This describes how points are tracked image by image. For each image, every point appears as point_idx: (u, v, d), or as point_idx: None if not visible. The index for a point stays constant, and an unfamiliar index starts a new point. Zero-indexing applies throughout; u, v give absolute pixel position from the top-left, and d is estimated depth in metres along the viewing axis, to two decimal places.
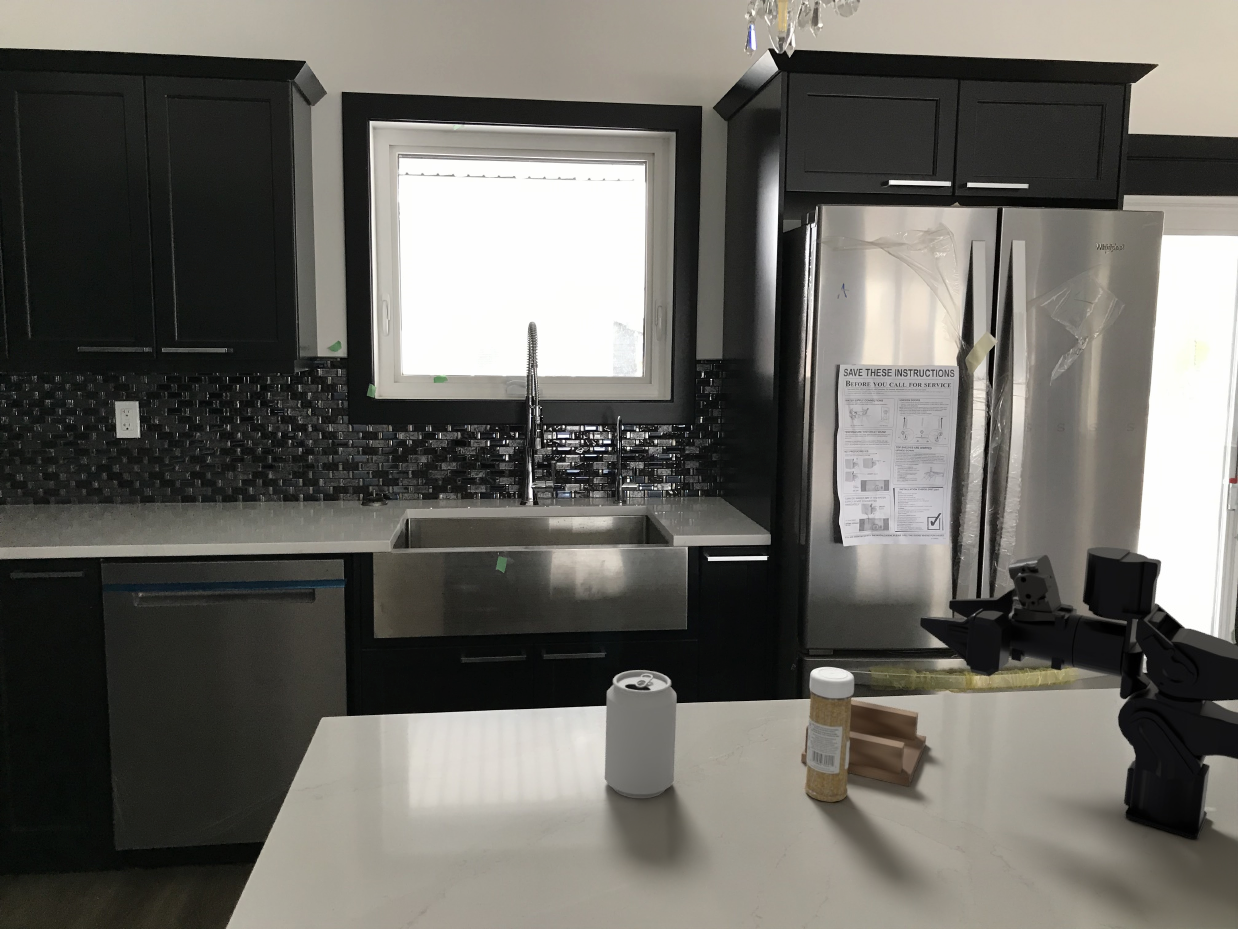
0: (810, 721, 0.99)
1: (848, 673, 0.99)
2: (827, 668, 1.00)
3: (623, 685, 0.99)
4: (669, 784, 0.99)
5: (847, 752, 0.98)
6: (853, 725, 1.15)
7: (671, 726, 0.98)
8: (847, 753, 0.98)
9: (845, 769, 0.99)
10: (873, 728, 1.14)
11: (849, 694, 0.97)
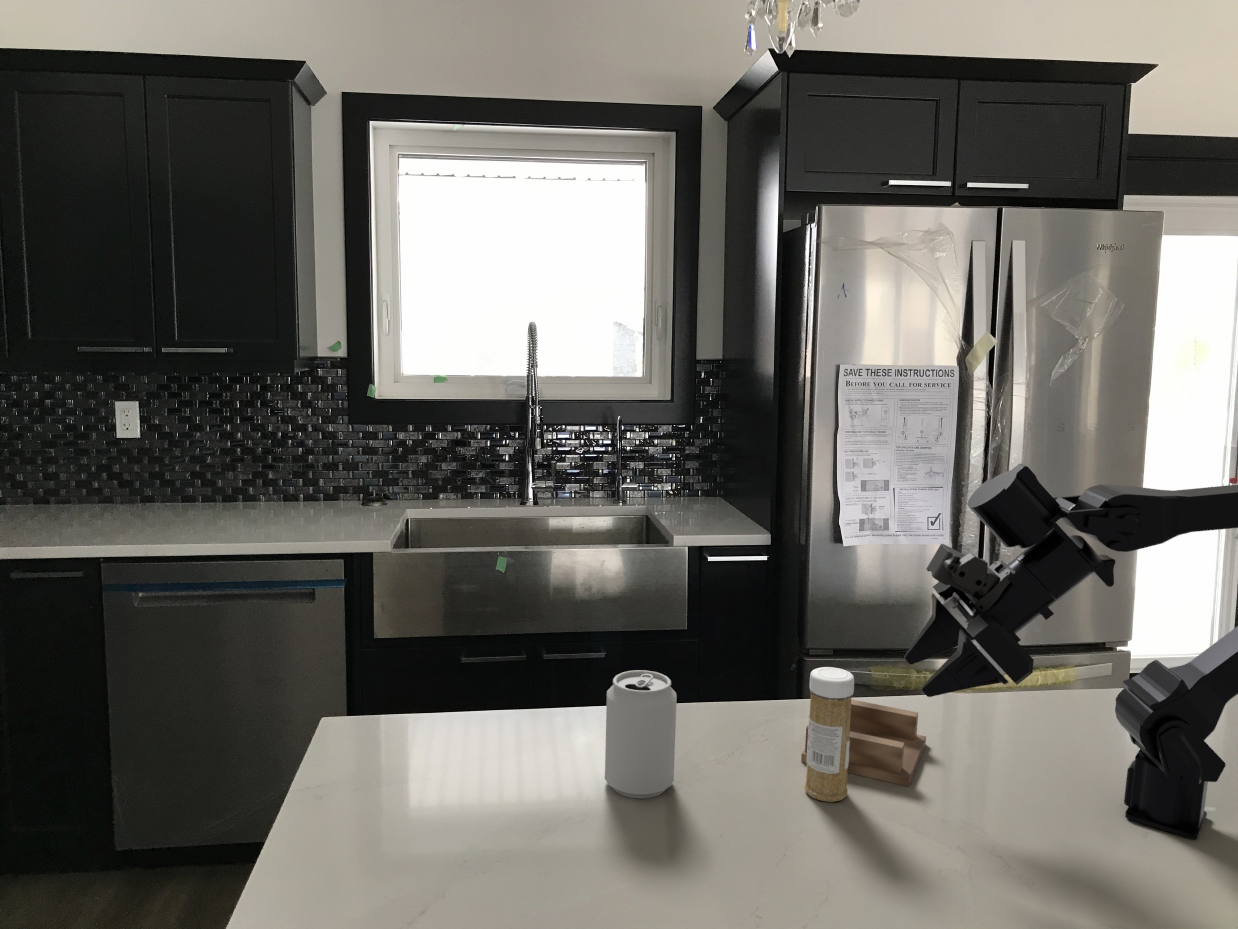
0: (810, 721, 0.99)
1: (848, 673, 0.99)
2: (827, 668, 1.00)
3: (623, 685, 0.99)
4: (669, 784, 0.99)
5: (847, 752, 0.98)
6: (853, 725, 1.15)
7: (671, 726, 0.98)
8: (847, 753, 0.98)
9: (845, 769, 0.99)
10: (873, 728, 1.14)
11: (849, 694, 0.97)
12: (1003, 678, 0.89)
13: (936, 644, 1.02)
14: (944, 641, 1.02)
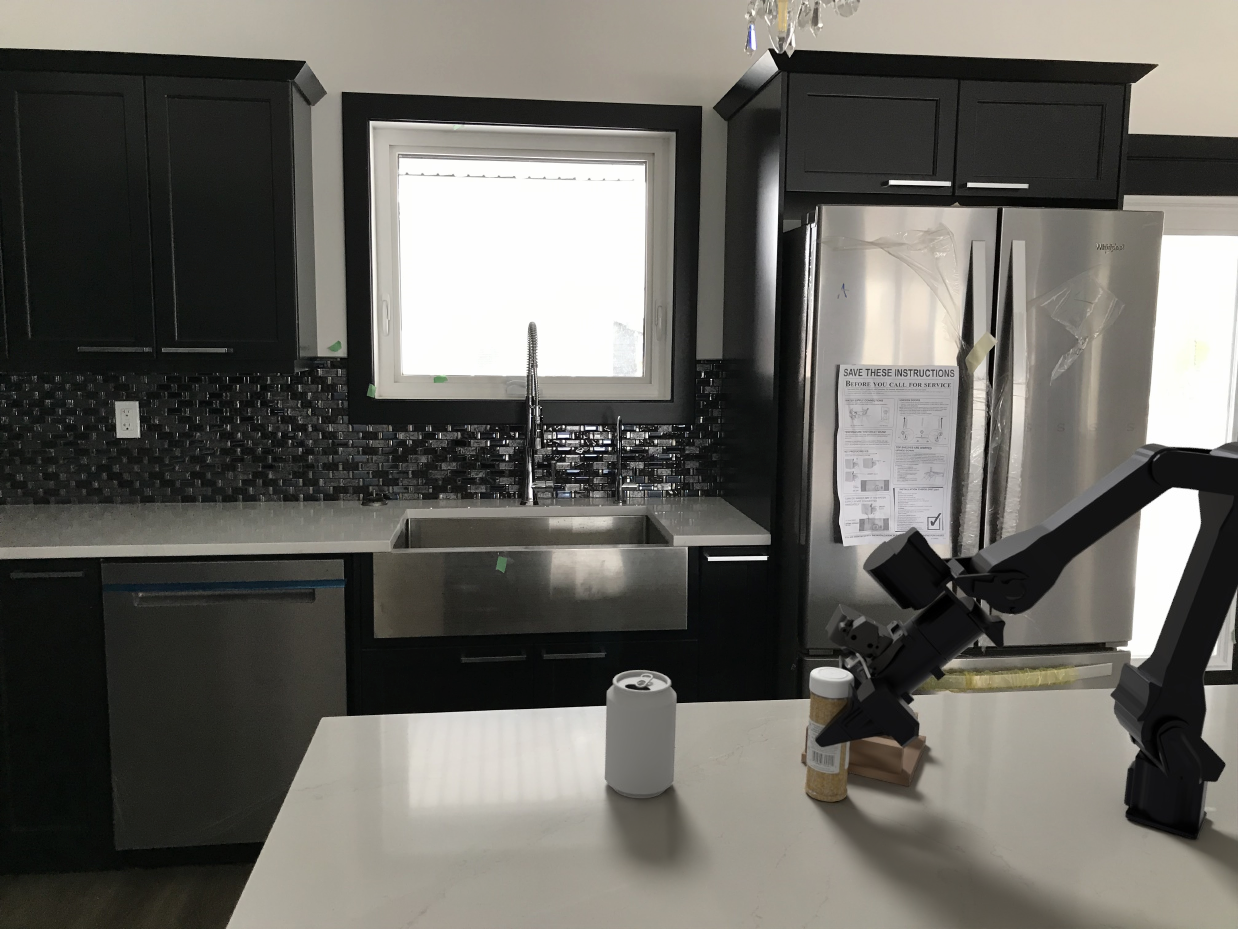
0: (810, 721, 0.99)
1: (848, 673, 0.99)
2: (827, 668, 1.00)
3: (623, 685, 0.99)
4: (669, 784, 0.99)
5: (847, 752, 0.98)
6: None
7: (671, 726, 0.98)
8: (847, 753, 0.98)
9: (845, 769, 0.99)
10: None
11: None
12: (887, 731, 0.93)
13: None
14: None
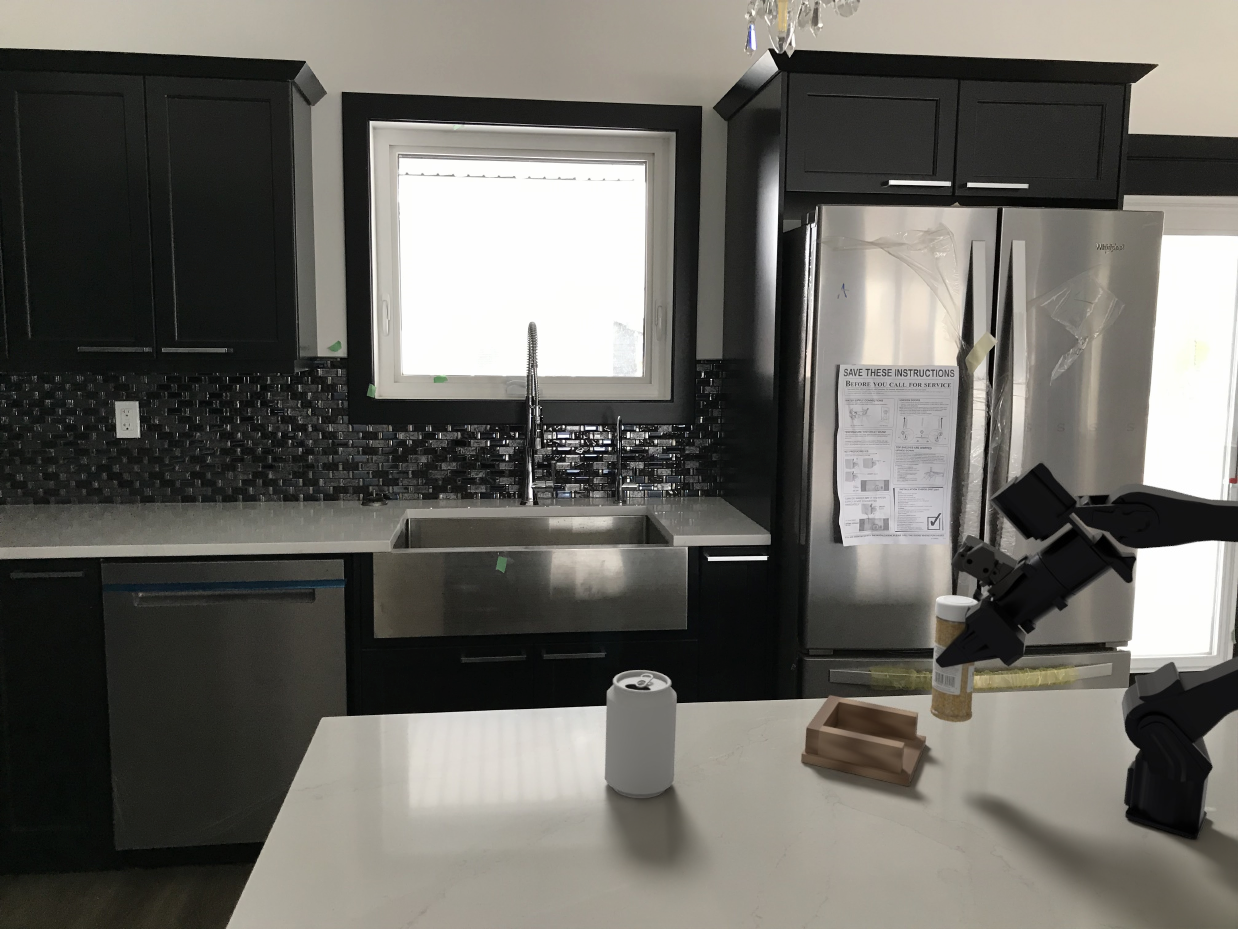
0: (934, 643, 1.04)
1: (974, 601, 1.03)
2: (955, 596, 1.05)
3: (623, 685, 0.99)
4: (669, 784, 0.99)
5: (970, 676, 1.03)
6: (853, 725, 1.15)
7: (671, 726, 0.98)
8: (970, 677, 1.03)
9: (967, 692, 1.03)
10: (873, 728, 1.14)
11: None
12: None
13: None
14: None
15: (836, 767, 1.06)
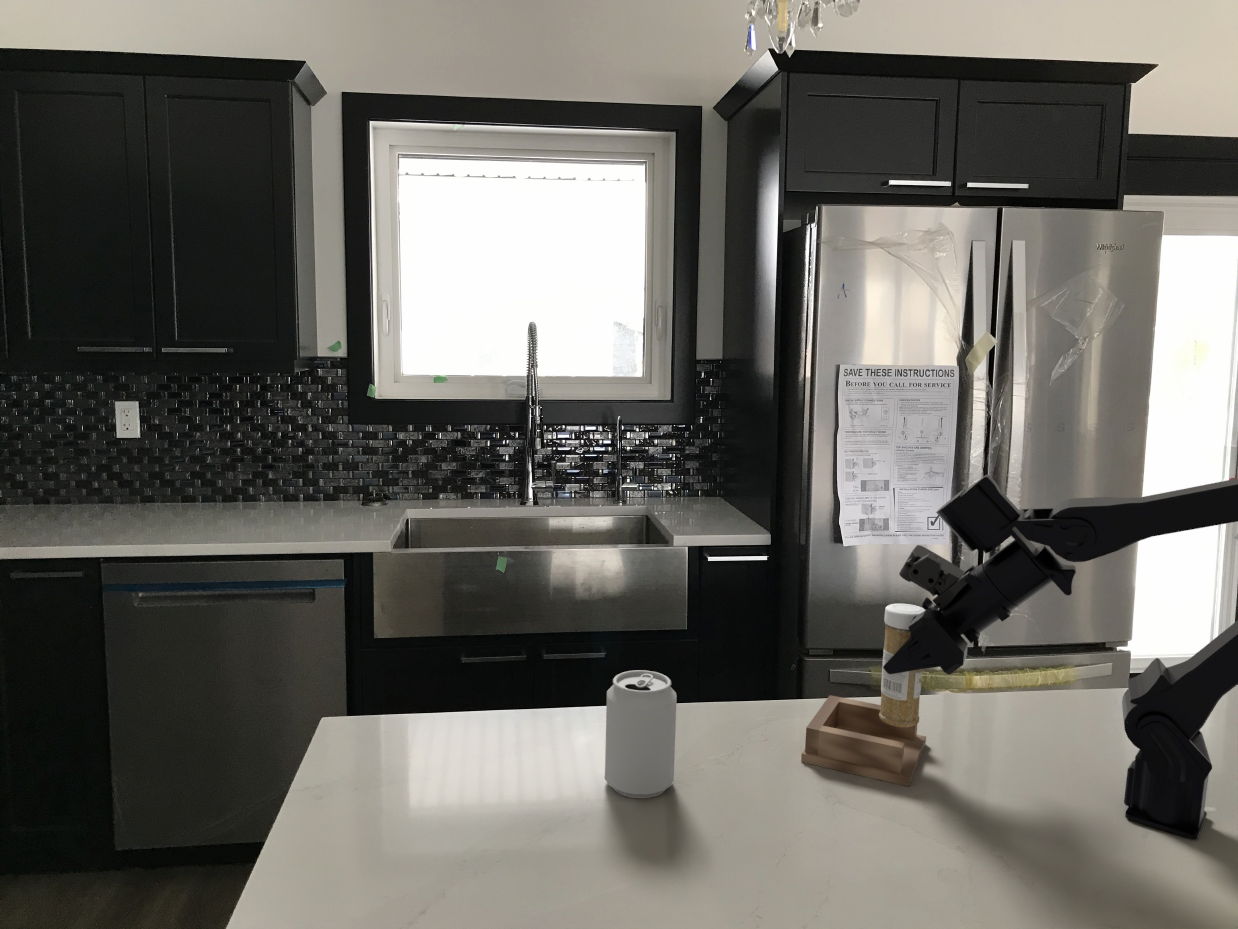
0: (883, 650, 1.07)
1: (922, 609, 1.06)
2: (905, 604, 1.08)
3: (623, 685, 0.99)
4: (669, 784, 0.99)
5: (916, 682, 1.06)
6: (853, 725, 1.15)
7: (671, 726, 0.98)
8: (916, 683, 1.06)
9: (914, 698, 1.06)
10: (873, 728, 1.14)
11: None
12: None
13: None
14: None
15: (836, 767, 1.06)
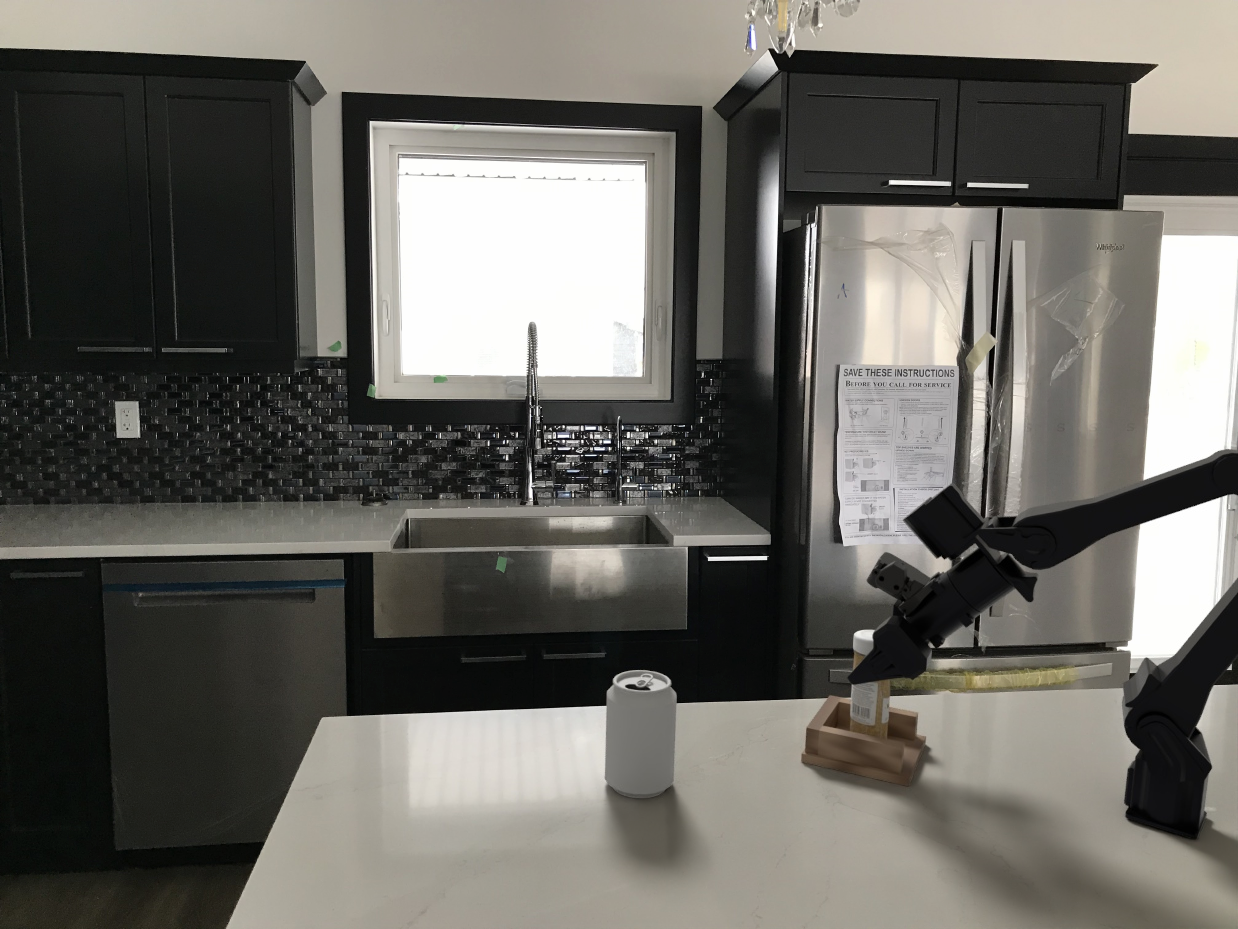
0: None
1: None
2: (873, 630, 1.10)
3: (623, 685, 0.99)
4: (669, 784, 0.99)
5: (884, 708, 1.08)
6: None
7: (671, 726, 0.98)
8: (884, 709, 1.08)
9: (882, 723, 1.08)
10: None
11: None
12: (904, 672, 0.99)
13: None
14: None
15: (836, 767, 1.06)
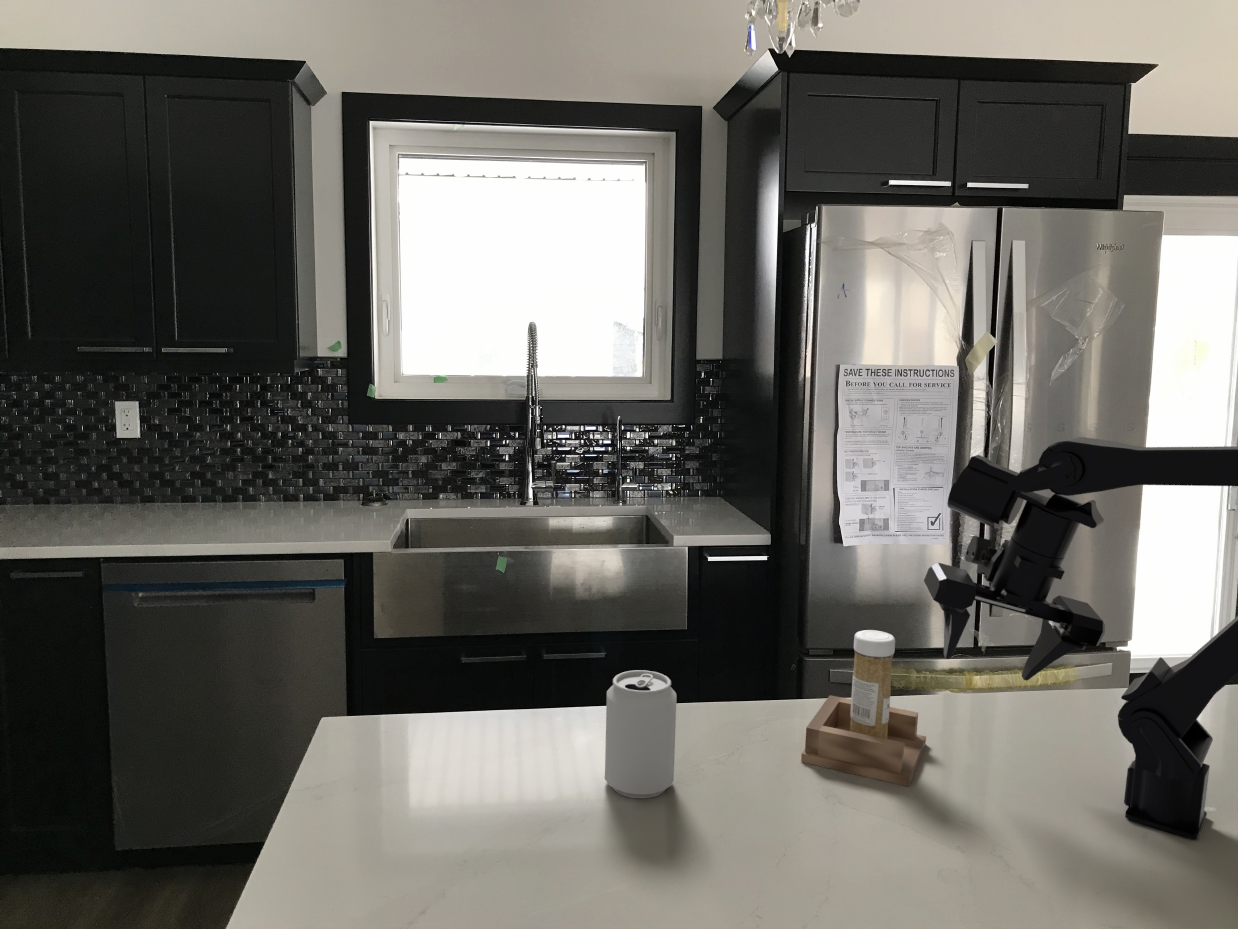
0: (853, 676, 1.09)
1: (890, 636, 1.08)
2: (874, 631, 1.10)
3: (623, 685, 0.99)
4: (669, 784, 0.99)
5: (884, 708, 1.08)
6: None
7: (671, 726, 0.98)
8: (885, 709, 1.08)
9: (882, 724, 1.08)
10: None
11: (886, 654, 1.06)
12: (942, 605, 1.03)
13: (1038, 655, 1.05)
14: (1043, 650, 1.05)
15: (836, 767, 1.06)
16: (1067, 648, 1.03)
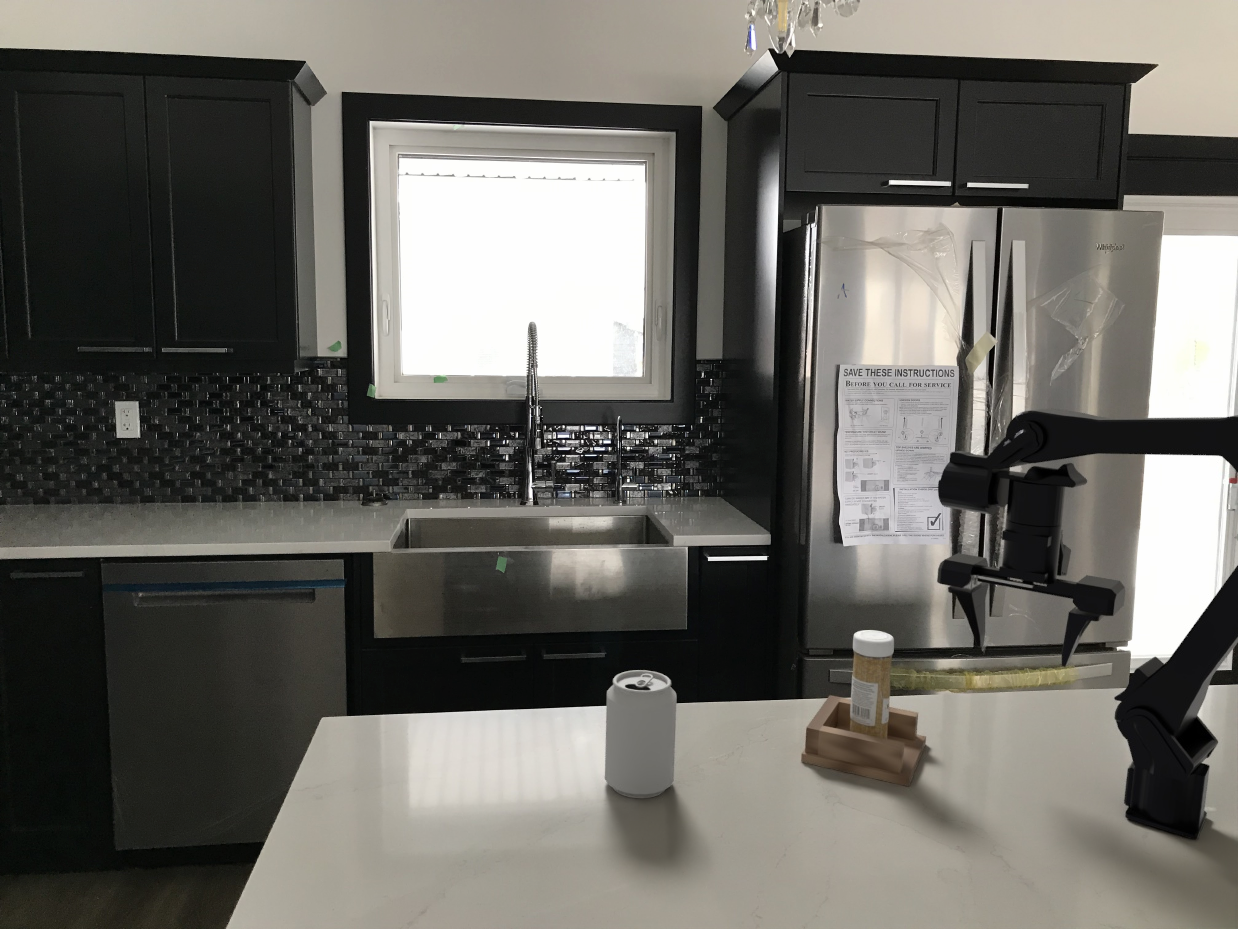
0: (852, 676, 1.09)
1: (889, 636, 1.08)
2: (873, 631, 1.10)
3: (623, 685, 0.99)
4: (669, 784, 0.99)
5: (884, 708, 1.08)
6: None
7: (671, 726, 0.98)
8: (884, 709, 1.08)
9: (882, 724, 1.08)
10: None
11: (885, 654, 1.06)
12: None
13: None
14: None
15: (836, 767, 1.06)
16: (1079, 621, 1.00)
